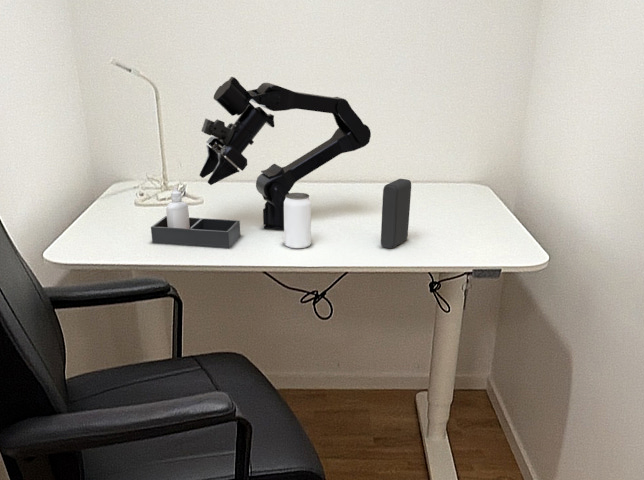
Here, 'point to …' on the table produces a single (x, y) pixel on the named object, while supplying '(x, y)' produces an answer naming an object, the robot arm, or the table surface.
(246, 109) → the robot arm
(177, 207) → the eye dropper bottle
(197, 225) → the divided tray
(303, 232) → the can
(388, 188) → the dark grey upright block
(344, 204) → the table surface
